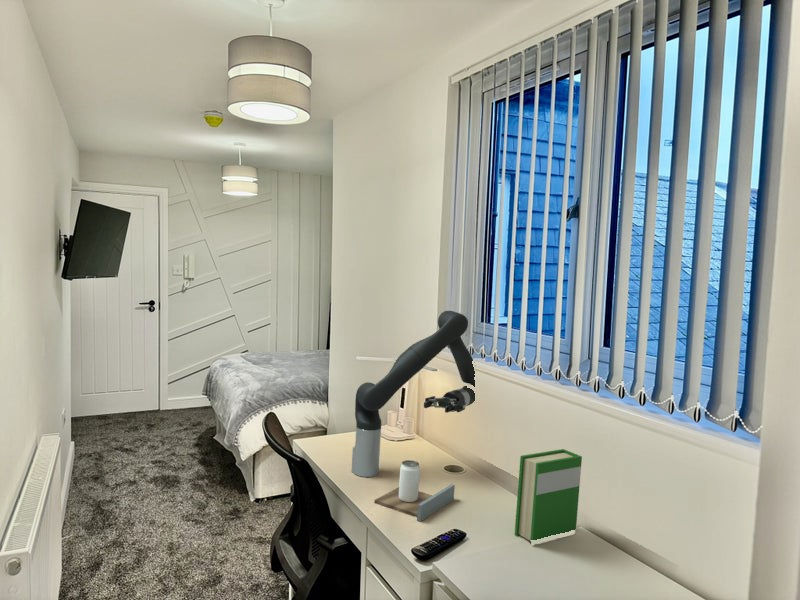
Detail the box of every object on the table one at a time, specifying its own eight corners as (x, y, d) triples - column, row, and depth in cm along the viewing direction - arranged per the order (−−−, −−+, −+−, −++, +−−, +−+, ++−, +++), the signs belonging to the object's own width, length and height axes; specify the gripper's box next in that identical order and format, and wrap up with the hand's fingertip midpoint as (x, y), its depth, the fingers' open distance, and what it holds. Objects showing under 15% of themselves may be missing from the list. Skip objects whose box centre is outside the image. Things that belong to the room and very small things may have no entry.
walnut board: (374, 502, 189) (374, 499, 189) (401, 488, 203) (401, 485, 203) (416, 517, 181) (416, 513, 181) (441, 501, 194) (441, 498, 194)
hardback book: (532, 546, 166) (538, 464, 165) (514, 535, 173) (520, 455, 171) (575, 534, 175) (581, 456, 174) (557, 524, 182) (563, 449, 180)
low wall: (416, 520, 178) (417, 504, 178) (450, 498, 197) (451, 484, 197) (420, 521, 178) (421, 505, 177) (453, 499, 196) (454, 484, 196)
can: (415, 504, 188) (417, 467, 187) (396, 500, 190) (398, 464, 189) (419, 496, 194) (422, 461, 193) (401, 493, 196) (403, 458, 195)
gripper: (440, 387, 224) (418, 393, 210) (474, 393, 216) (453, 400, 202) (439, 406, 224) (417, 414, 210) (472, 413, 216) (452, 421, 203)
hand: (435, 407), depth 206 cm, fingers open, 8 cm apart
